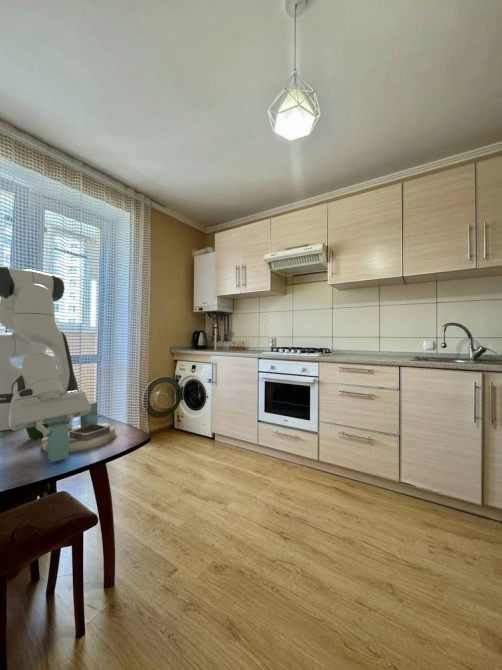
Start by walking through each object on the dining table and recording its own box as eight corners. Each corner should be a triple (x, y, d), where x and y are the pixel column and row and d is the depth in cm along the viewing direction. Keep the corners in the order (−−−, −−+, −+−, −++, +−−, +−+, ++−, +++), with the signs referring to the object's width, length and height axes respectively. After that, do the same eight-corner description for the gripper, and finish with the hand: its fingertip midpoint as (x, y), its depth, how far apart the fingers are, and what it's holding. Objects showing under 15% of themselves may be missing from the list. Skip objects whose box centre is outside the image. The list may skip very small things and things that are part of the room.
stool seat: (35, 441, 98) (34, 408, 98) (102, 425, 114) (101, 397, 114) (50, 459, 83) (49, 421, 83) (125, 438, 99) (124, 406, 99)
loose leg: (47, 457, 81) (47, 427, 81) (63, 453, 84) (63, 423, 84) (52, 461, 78) (52, 430, 78) (68, 456, 82) (68, 426, 81)
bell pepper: (50, 431, 107) (49, 406, 107) (57, 436, 102) (56, 409, 102) (22, 438, 101) (22, 411, 101) (28, 443, 96) (28, 415, 96)
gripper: (81, 394, 96) (93, 428, 90) (3, 407, 80) (12, 450, 74) (86, 383, 93) (99, 417, 87) (6, 394, 77) (16, 437, 71)
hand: (58, 432), depth 81 cm, fingers closed on loose leg, 4 cm apart
